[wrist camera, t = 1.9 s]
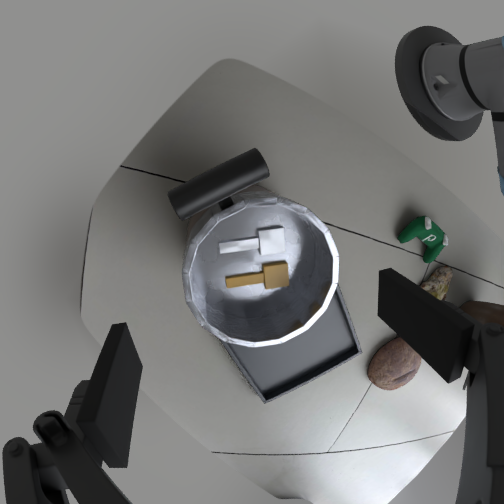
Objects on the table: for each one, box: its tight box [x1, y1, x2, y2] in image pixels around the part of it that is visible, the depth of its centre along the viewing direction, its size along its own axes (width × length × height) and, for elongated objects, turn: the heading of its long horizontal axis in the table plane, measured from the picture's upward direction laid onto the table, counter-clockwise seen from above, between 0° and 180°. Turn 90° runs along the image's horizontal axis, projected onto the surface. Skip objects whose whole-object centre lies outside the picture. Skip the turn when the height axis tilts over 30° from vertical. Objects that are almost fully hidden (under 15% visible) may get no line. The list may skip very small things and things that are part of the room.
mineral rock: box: [420, 266, 453, 300], centre depth 51 cm, size 11×4×8 cm
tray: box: [219, 283, 362, 404], centre depth 49 cm, size 17×19×2 cm
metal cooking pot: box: [168, 148, 339, 348], centre depth 27 cm, size 18×14×13 cm
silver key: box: [219, 226, 285, 256], centre depth 32 cm, size 7×3×1 cm, turn 96°
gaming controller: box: [398, 216, 448, 263], centre depth 47 cm, size 9×4×6 cm
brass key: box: [225, 262, 289, 290], centre depth 33 cm, size 7×3×1 cm, turn 96°
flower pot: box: [460, 301, 504, 327], centre depth 49 cm, size 15×15×16 cm
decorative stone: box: [368, 337, 421, 390], centre depth 53 cm, size 12×12×6 cm
